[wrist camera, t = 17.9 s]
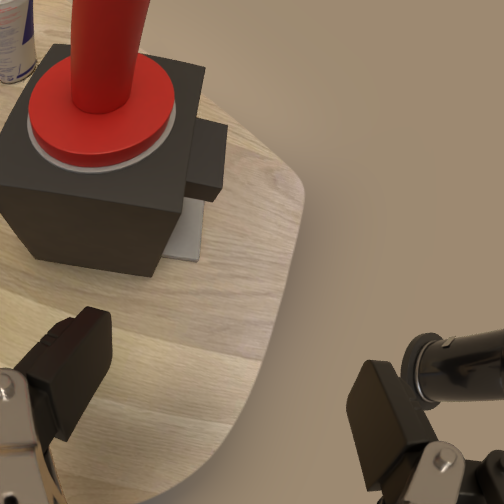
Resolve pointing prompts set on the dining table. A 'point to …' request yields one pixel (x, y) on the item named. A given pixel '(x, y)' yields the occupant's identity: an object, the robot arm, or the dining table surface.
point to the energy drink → (16, 40)
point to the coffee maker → (114, 186)
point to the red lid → (102, 89)
